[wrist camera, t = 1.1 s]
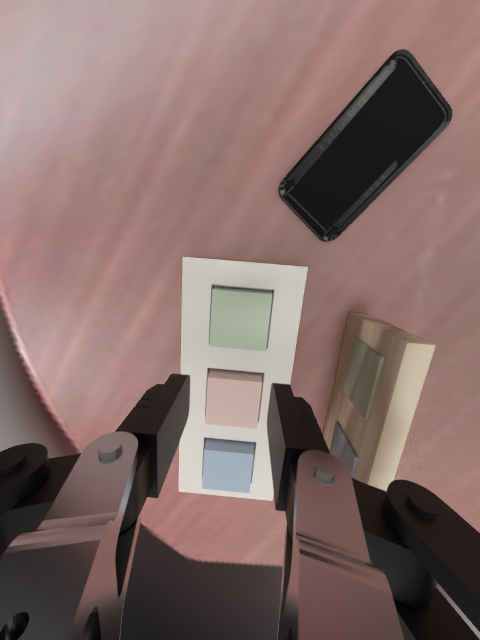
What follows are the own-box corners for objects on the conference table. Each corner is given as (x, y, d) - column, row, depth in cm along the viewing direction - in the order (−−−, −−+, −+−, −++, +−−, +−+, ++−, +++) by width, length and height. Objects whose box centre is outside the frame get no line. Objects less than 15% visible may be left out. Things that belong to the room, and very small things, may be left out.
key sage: (270, 290, 24) (272, 294, 21) (264, 341, 26) (265, 351, 23) (216, 286, 24) (212, 289, 22) (213, 337, 26) (209, 346, 23)
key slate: (253, 436, 29) (253, 454, 26) (249, 472, 30) (249, 493, 27) (208, 432, 29) (204, 449, 26) (206, 468, 30) (202, 488, 28)
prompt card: (366, 313, 26) (435, 345, 16) (333, 458, 31) (372, 547, 22) (345, 311, 26) (403, 342, 16) (316, 456, 31) (347, 545, 22)
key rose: (260, 370, 26) (262, 382, 24) (256, 412, 28) (256, 428, 25) (211, 365, 26) (207, 377, 24) (209, 408, 28) (205, 423, 25)
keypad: (301, 266, 25) (307, 267, 22) (270, 479, 32) (272, 500, 30) (190, 257, 25) (182, 256, 22) (184, 470, 33) (178, 491, 30)
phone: (274, 188, 23) (402, 41, 19) (273, 192, 24) (394, 53, 21) (329, 246, 24) (458, 116, 21) (325, 247, 25) (448, 123, 22)
